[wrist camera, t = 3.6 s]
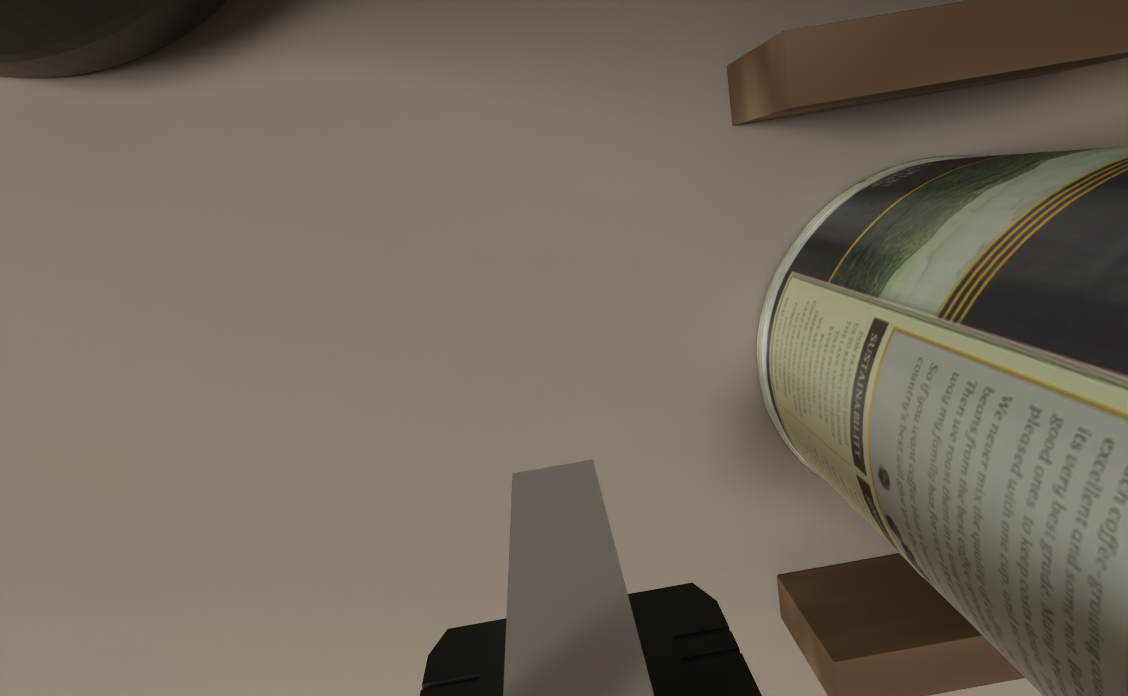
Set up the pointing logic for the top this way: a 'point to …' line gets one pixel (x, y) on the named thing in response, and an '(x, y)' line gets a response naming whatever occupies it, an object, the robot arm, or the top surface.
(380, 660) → the top surface
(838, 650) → the wooden compartment tray
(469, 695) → the robot arm
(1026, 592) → the coffee can
